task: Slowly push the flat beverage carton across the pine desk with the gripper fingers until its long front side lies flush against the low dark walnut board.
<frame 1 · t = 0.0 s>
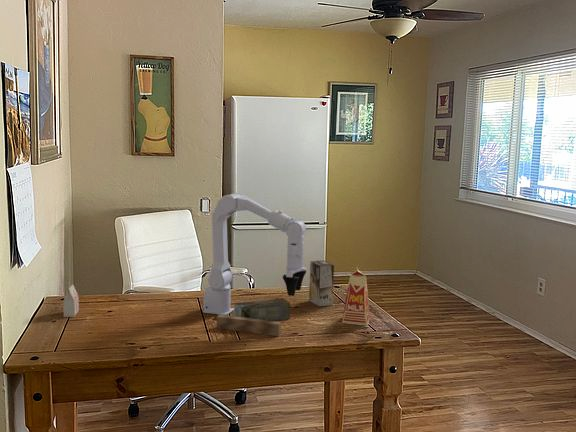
hand: (294, 292, 207), 10 cm above the table, tool pointing down, fingers open, 7 cm apart
coffee box: (320, 303, 231), on the table
beverage carton: (262, 319, 209), on the table
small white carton: (71, 314, 208), on the table
milk carton: (355, 321, 210), on the table
walnut board: (248, 330, 196), on the table
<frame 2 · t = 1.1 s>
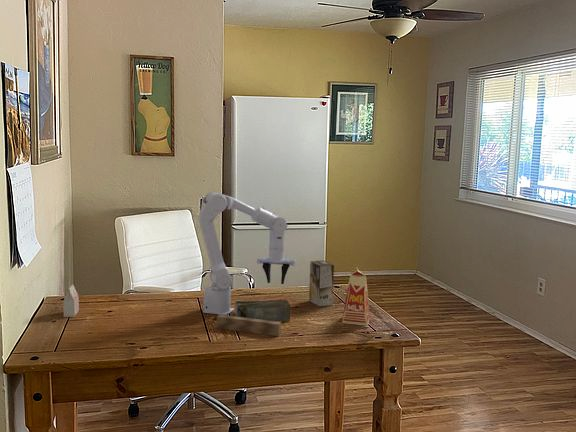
hand: (275, 282, 222), 9 cm above the table, tool pointing down, fingers open, 5 cm apart
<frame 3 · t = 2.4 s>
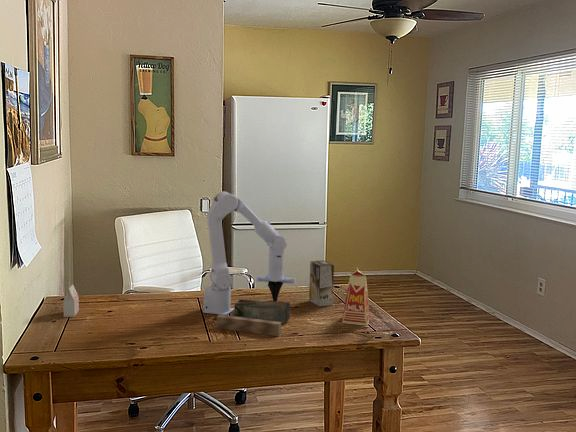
hand: (275, 300, 223), 2 cm above the table, tool pointing down, fingers closed
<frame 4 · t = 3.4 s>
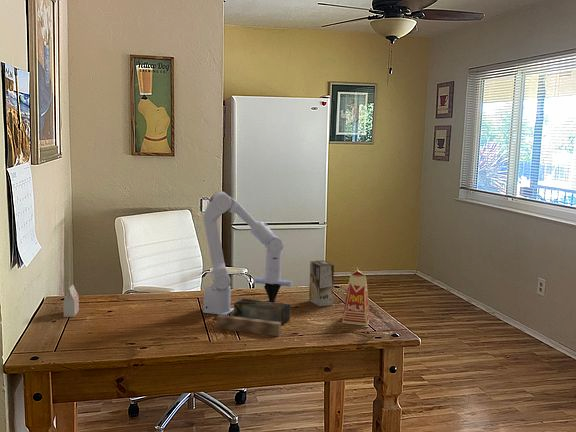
hand: (272, 303, 220), 2 cm above the table, tool pointing down, fingers closed
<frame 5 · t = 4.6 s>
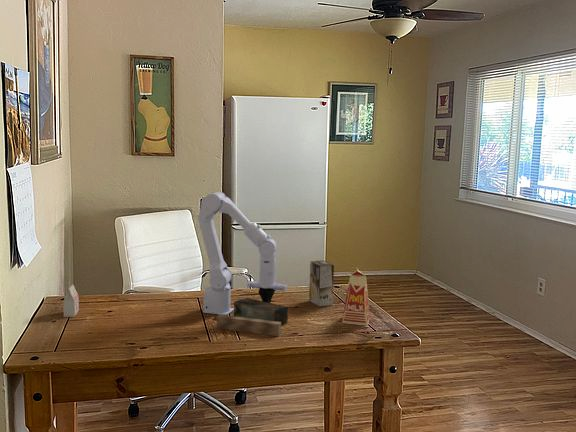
hand: (266, 308, 213), 2 cm above the table, tool pointing down, fingers closed
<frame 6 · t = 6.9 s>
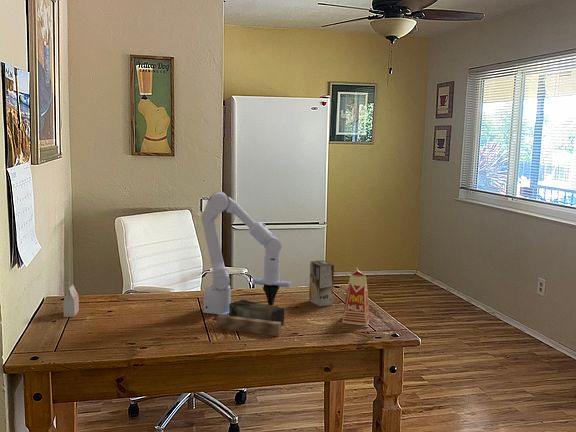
hand: (270, 304, 218), 2 cm above the table, tool pointing down, fingers closed
beverage carton: (256, 322, 206), on the table
everything else where it was.
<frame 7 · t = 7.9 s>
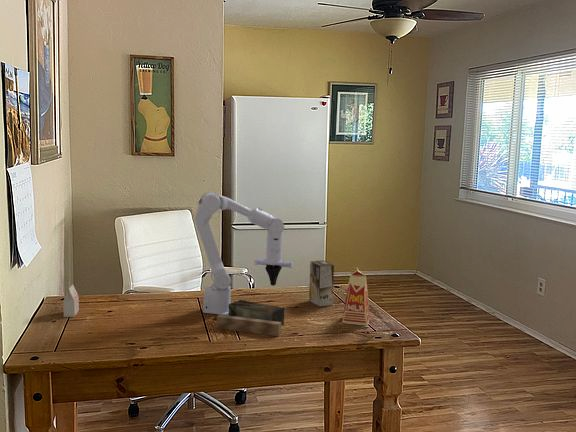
hand: (273, 284, 219), 9 cm above the table, tool pointing down, fingers closed
nothing on the table moved.
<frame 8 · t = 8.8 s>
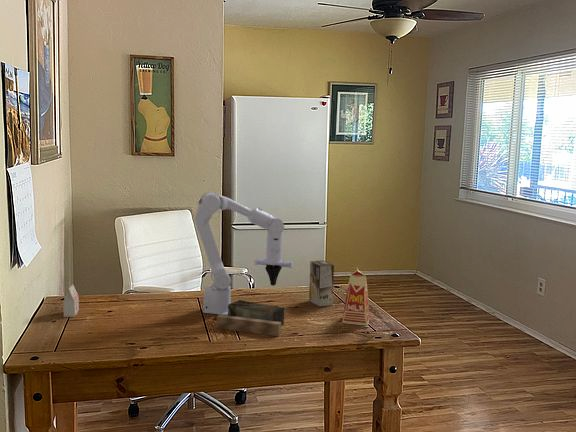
hand: (273, 284, 219), 9 cm above the table, tool pointing down, fingers closed
nothing on the table moved.
at the end: beverage carton 1.0 cm from the target spot on the table beside the walnut board, on the table; beverage carton on the table; beverage carton moved 4.5 cm from its start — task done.
